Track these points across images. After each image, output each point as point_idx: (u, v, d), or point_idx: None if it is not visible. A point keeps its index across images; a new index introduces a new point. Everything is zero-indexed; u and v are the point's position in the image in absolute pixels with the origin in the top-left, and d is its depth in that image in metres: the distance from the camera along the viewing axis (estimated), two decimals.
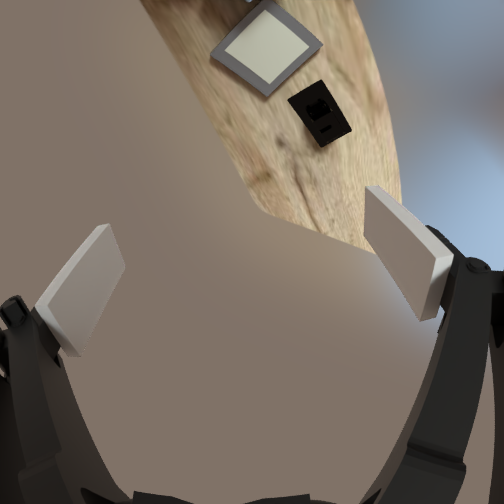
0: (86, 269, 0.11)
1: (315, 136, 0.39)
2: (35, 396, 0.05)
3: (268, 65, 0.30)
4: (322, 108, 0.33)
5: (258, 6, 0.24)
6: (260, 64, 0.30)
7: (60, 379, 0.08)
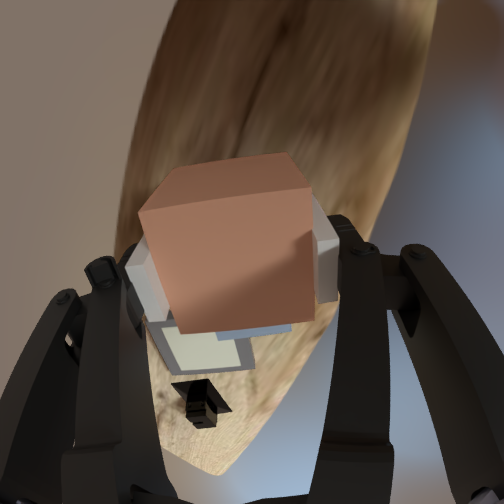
0: None
1: None
2: (106, 372, 0.06)
3: (191, 359, 0.31)
4: (199, 405, 0.34)
5: None
6: (185, 355, 0.30)
7: (139, 352, 0.09)
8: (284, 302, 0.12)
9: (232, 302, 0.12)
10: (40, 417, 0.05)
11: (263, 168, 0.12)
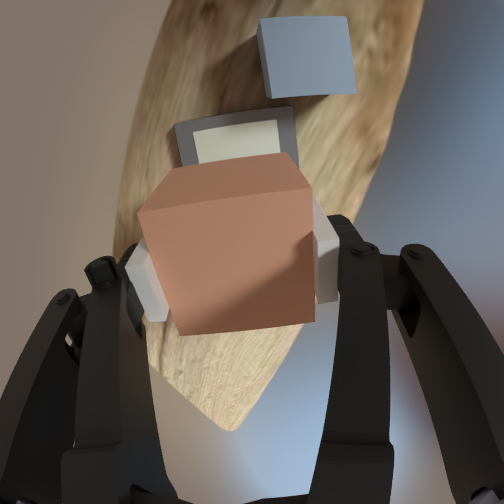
0: None
1: None
2: (106, 372, 0.06)
3: None
4: None
5: (273, 110, 0.22)
6: None
7: (138, 352, 0.09)
8: (284, 303, 0.12)
9: (232, 303, 0.12)
10: (40, 417, 0.05)
11: (263, 168, 0.12)
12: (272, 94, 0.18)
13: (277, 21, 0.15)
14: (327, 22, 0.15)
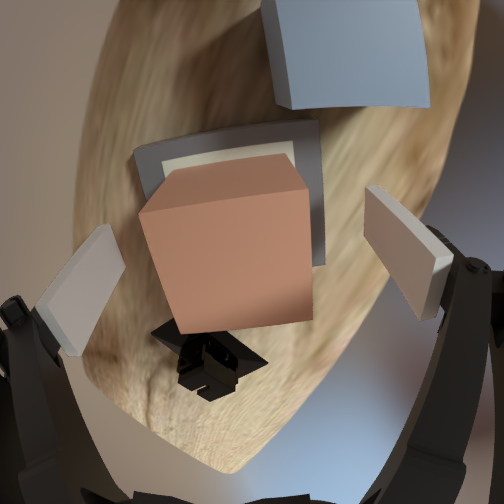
0: (86, 269, 0.11)
1: None
2: (35, 396, 0.05)
3: None
4: (194, 357, 0.21)
5: (287, 126, 0.14)
6: None
7: (60, 379, 0.08)
8: (282, 302, 0.12)
9: (231, 302, 0.12)
10: None
11: (261, 169, 0.13)
12: (293, 102, 0.10)
13: None
14: None
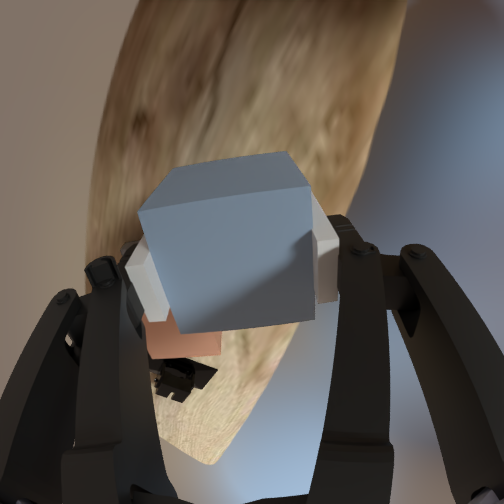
0: None
1: None
2: (106, 372, 0.06)
3: None
4: (159, 376, 0.32)
5: None
6: None
7: (139, 352, 0.09)
8: (201, 345, 0.22)
9: (175, 344, 0.22)
10: (40, 417, 0.05)
11: None
12: (180, 329, 0.13)
13: (169, 215, 0.10)
14: (269, 205, 0.10)
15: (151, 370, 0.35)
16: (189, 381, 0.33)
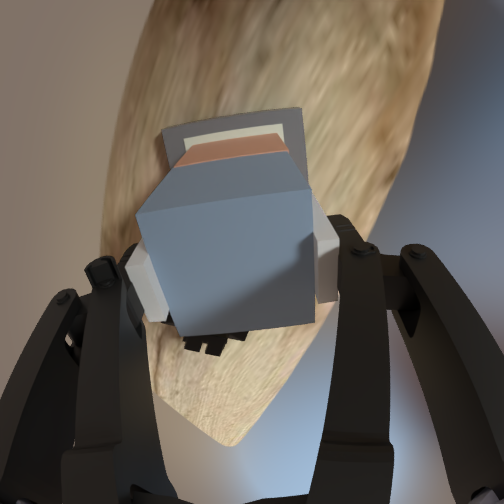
0: None
1: None
2: (106, 372, 0.06)
3: None
4: None
5: (278, 112, 0.19)
6: None
7: (139, 352, 0.09)
8: None
9: None
10: (40, 417, 0.05)
11: (258, 141, 0.17)
12: (179, 331, 0.13)
13: (167, 218, 0.10)
14: (269, 209, 0.10)
15: None
16: None
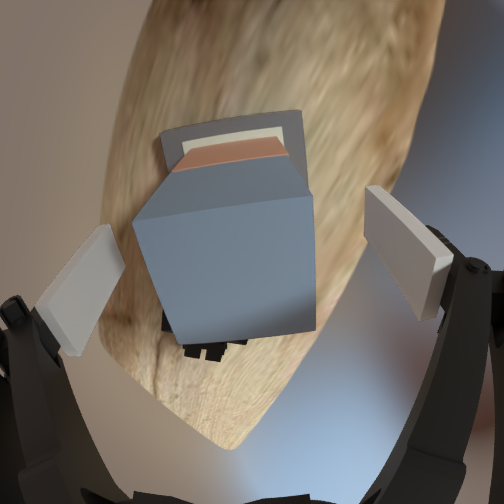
0: (86, 269, 0.11)
1: (226, 341, 0.31)
2: (35, 396, 0.05)
3: None
4: None
5: (278, 115, 0.19)
6: None
7: (60, 379, 0.08)
8: None
9: None
10: None
11: (257, 145, 0.17)
12: (178, 339, 0.12)
13: (164, 226, 0.10)
14: (269, 216, 0.09)
15: None
16: None
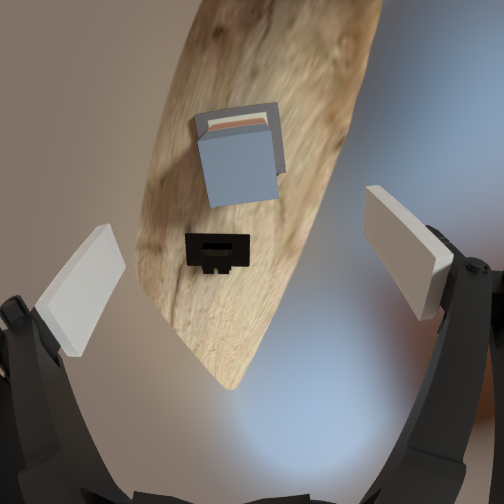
0: (86, 269, 0.11)
1: (234, 264, 0.45)
2: (35, 396, 0.05)
3: None
4: None
5: (263, 105, 0.32)
6: None
7: (60, 379, 0.08)
8: None
9: None
10: None
11: (251, 120, 0.30)
12: (210, 204, 0.26)
13: (211, 143, 0.23)
14: (254, 139, 0.23)
15: (199, 263, 0.45)
16: (226, 250, 0.41)
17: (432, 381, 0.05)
